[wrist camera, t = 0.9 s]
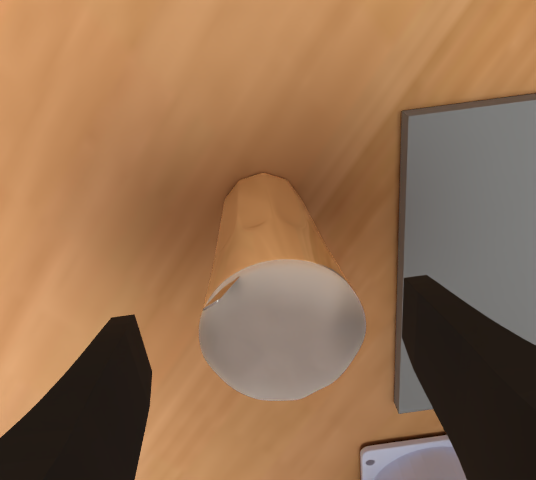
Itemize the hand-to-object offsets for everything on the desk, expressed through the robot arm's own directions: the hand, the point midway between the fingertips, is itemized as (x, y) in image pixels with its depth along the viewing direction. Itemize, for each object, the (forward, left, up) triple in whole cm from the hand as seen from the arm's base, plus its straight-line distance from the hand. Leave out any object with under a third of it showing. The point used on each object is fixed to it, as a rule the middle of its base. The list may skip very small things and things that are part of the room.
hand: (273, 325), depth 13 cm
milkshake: (0, 0, -8) cm, 8 cm away
